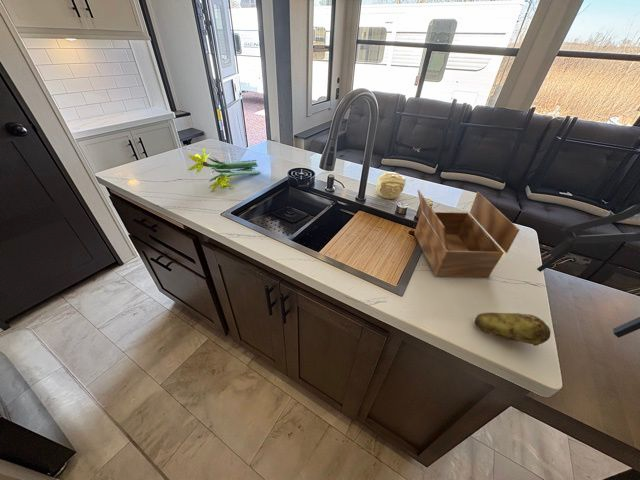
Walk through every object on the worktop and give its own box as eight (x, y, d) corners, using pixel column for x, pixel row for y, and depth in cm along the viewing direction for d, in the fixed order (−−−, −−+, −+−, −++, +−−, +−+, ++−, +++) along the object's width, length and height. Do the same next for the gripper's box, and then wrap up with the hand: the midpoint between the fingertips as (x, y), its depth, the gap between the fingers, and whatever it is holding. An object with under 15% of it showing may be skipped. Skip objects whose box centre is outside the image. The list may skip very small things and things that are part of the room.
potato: (479, 308, 66) (493, 288, 61) (537, 340, 59) (558, 320, 54) (468, 329, 61) (483, 308, 56) (530, 366, 54) (553, 347, 49)
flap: (445, 227, 64) (443, 228, 64) (448, 249, 69) (446, 249, 69) (418, 189, 81) (417, 190, 81) (422, 209, 85) (421, 209, 85)
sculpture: (376, 201, 110) (381, 177, 103) (373, 188, 119) (377, 166, 112) (403, 202, 109) (409, 179, 103) (397, 189, 119) (403, 167, 112)
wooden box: (491, 277, 75) (522, 229, 65) (435, 276, 75) (457, 228, 64) (460, 234, 92) (480, 191, 81) (414, 233, 91) (428, 190, 81)
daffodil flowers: (271, 179, 125) (213, 186, 96) (251, 188, 133) (191, 197, 104) (259, 145, 123) (195, 142, 93) (240, 156, 130) (175, 157, 101)
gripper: (869, 278, 29) (652, 357, 41) (632, 158, 42) (518, 246, 54) (922, 291, 24) (658, 376, 37) (635, 150, 37) (508, 249, 49)
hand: (574, 299), depth 45 cm, fingers open, 13 cm apart
